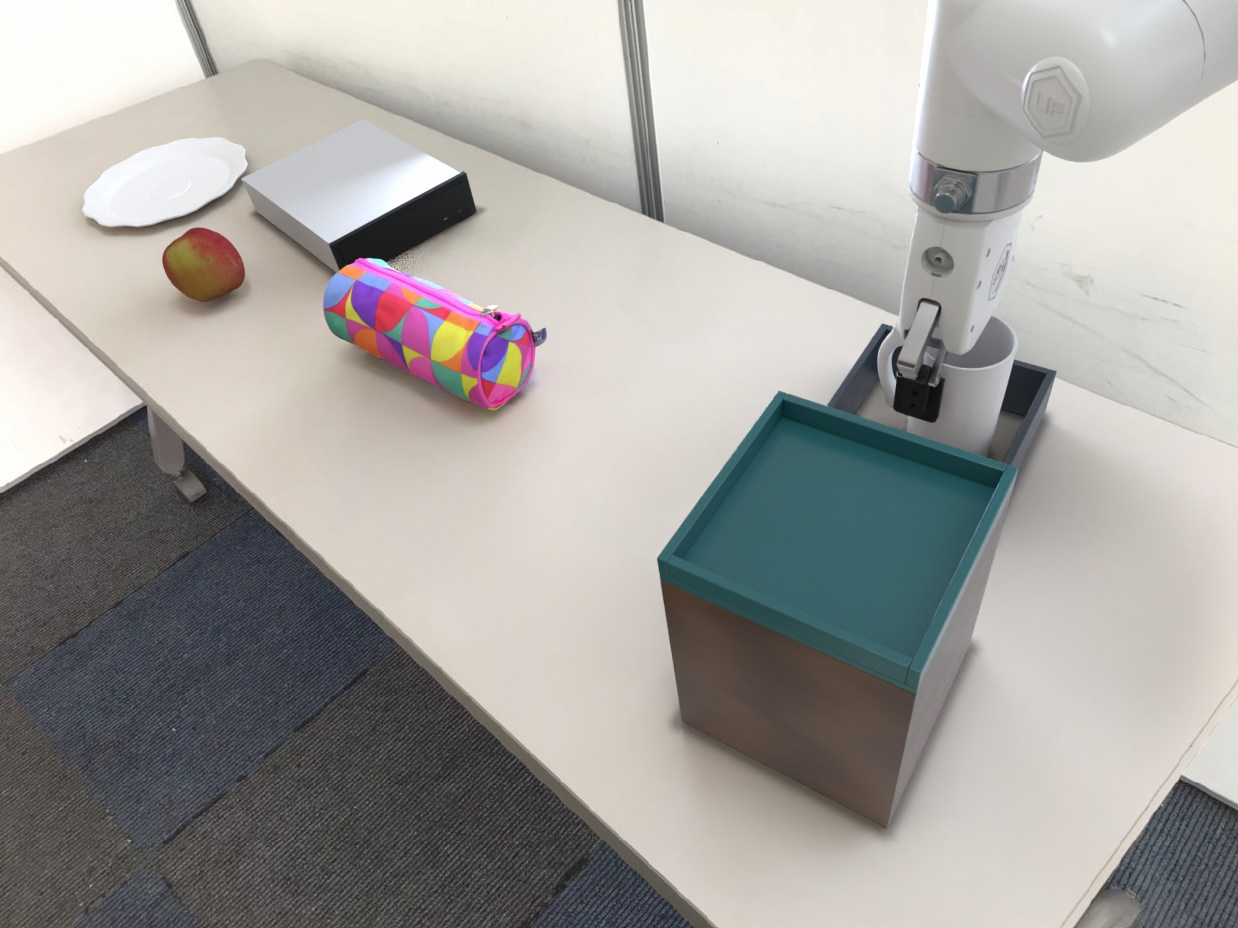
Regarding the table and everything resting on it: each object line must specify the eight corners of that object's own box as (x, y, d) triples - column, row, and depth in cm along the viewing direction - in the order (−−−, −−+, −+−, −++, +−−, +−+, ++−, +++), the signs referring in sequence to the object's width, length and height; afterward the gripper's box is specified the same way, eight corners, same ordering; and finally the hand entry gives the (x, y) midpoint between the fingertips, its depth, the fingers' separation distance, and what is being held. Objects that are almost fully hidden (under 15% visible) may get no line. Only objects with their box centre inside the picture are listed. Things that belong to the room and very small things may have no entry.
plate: (60, 208, 122) (53, 196, 121) (196, 135, 131) (191, 123, 130) (141, 255, 111) (134, 243, 110) (283, 172, 121) (278, 160, 120)
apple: (243, 265, 107) (212, 203, 101) (263, 299, 102) (232, 236, 96) (177, 292, 105) (142, 231, 99) (195, 328, 100) (159, 265, 94)
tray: (1012, 491, 52) (1019, 467, 50) (916, 695, 44) (920, 673, 43) (778, 413, 58) (778, 389, 57) (659, 580, 51) (656, 557, 49)
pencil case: (561, 368, 88) (544, 289, 82) (499, 431, 83) (475, 354, 77) (396, 306, 98) (368, 232, 92) (331, 359, 93) (297, 285, 87)
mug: (1005, 448, 75) (1036, 330, 66) (962, 499, 72) (987, 383, 63) (894, 397, 80) (908, 282, 72) (849, 442, 77) (858, 329, 69)
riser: (969, 646, 64) (1012, 491, 52) (887, 828, 56) (916, 695, 44) (778, 567, 70) (778, 413, 58) (681, 721, 62) (659, 580, 51)
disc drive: (347, 284, 102) (331, 245, 98) (255, 213, 115) (238, 177, 111) (477, 212, 109) (467, 173, 105) (376, 152, 121) (364, 116, 118)
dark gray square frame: (1043, 416, 77) (1057, 370, 73) (985, 539, 69) (997, 494, 66) (877, 367, 83) (881, 323, 79) (807, 474, 76) (809, 431, 72)
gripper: (987, 259, 52) (946, 470, 64) (1077, 112, 61) (1025, 322, 74) (858, 229, 55) (843, 435, 68) (961, 94, 64) (931, 298, 77)
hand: (938, 375), depth 71 cm, fingers open, 8 cm apart
